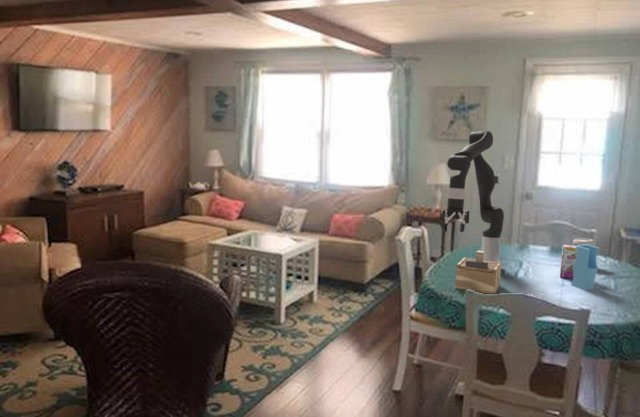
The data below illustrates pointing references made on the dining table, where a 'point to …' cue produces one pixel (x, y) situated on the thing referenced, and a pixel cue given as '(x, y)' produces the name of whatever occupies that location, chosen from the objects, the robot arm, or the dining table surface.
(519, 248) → the dining table surface
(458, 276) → the toolbox
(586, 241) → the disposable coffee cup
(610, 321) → the dining table surface
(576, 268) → the light-blue file holder
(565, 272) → the candy bar box
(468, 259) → the toolbox lid
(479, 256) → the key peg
